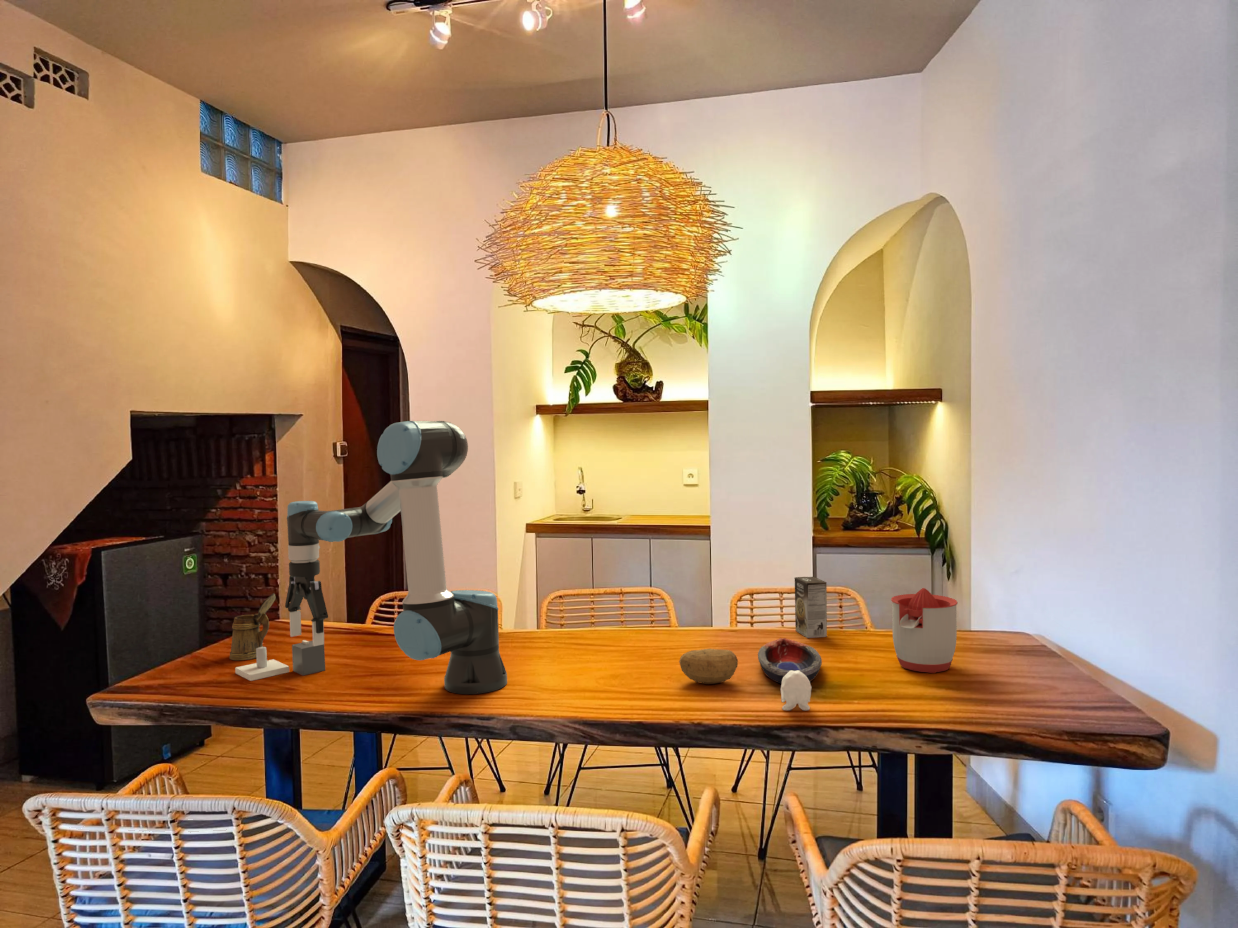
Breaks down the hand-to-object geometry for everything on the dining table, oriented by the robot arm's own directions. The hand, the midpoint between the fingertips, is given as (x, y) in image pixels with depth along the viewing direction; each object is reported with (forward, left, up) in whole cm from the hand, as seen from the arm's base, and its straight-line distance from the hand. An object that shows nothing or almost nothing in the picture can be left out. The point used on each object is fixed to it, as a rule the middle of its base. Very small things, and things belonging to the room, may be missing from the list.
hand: (306, 640), depth 217 cm
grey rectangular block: (0, 0, -8) cm, 8 cm away
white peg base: (+8, +9, -8) cm, 14 cm away
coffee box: (-80, -115, -8) cm, 141 cm away
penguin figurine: (-110, -60, -8) cm, 126 cm away
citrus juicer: (-119, -104, -8) cm, 159 cm away
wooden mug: (+26, +4, -8) cm, 27 cm away
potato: (-86, -60, -8) cm, 106 cm away
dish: (-95, -81, -9) cm, 125 cm away
